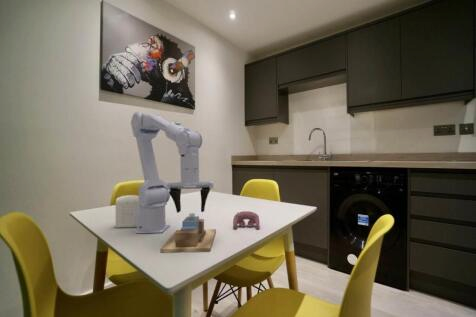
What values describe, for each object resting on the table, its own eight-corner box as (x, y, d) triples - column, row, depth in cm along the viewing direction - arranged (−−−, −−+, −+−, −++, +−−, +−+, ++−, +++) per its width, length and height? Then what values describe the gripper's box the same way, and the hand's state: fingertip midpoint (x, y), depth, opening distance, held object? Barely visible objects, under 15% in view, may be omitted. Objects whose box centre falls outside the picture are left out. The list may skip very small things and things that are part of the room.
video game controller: (259, 231, 81) (259, 212, 84) (259, 229, 77) (259, 209, 80) (233, 230, 82) (234, 212, 85) (232, 229, 78) (232, 209, 81)
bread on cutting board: (160, 252, 61) (159, 234, 61) (176, 232, 77) (176, 218, 77) (210, 251, 61) (209, 233, 61) (215, 232, 77) (215, 217, 77)
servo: (181, 244, 64) (180, 219, 64) (188, 232, 74) (188, 211, 74) (194, 243, 64) (193, 219, 64) (200, 232, 74) (200, 211, 74)
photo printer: (145, 224, 88) (144, 193, 88) (141, 227, 84) (140, 195, 84) (119, 225, 87) (118, 194, 87) (113, 228, 83) (113, 196, 83)
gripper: (162, 170, 65) (163, 215, 65) (211, 169, 65) (212, 214, 65) (170, 168, 72) (171, 209, 72) (213, 167, 72) (214, 208, 72)
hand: (190, 211), depth 69 cm, fingers open, 7 cm apart
